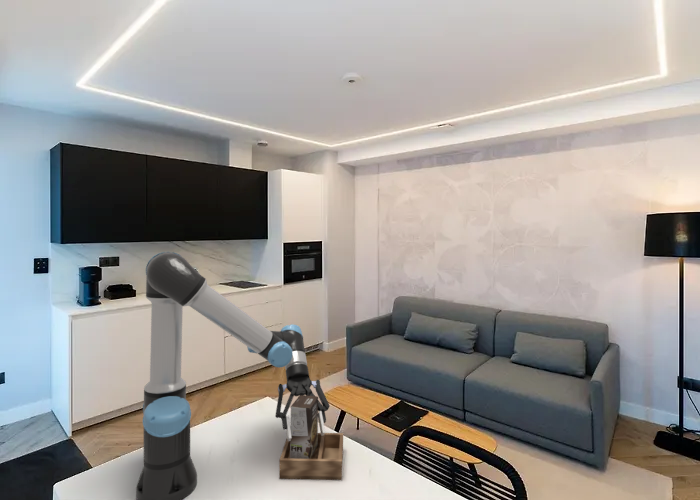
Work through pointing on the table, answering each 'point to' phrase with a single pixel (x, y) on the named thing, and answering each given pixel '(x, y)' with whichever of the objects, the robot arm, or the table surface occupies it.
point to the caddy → (315, 460)
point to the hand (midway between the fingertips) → (306, 436)
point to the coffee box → (304, 427)
